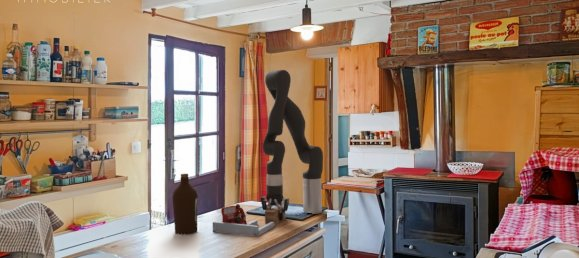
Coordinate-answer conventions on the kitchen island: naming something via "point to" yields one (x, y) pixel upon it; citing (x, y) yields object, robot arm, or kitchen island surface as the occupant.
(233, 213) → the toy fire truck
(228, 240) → the kitchen island surface
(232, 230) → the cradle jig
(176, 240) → the kitchen island surface
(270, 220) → the wing block
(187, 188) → the olive oil
